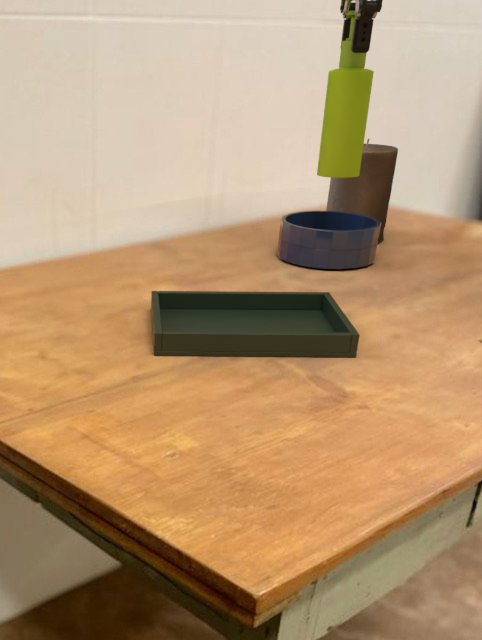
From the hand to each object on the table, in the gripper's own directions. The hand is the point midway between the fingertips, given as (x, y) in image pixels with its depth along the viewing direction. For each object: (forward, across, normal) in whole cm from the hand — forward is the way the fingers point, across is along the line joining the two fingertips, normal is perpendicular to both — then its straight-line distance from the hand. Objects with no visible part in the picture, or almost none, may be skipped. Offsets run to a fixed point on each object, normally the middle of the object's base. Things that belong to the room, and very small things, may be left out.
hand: (354, 51), depth 108 cm
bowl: (+27, 0, 0) cm, 27 cm away
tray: (+27, -34, +16) cm, 46 cm away
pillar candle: (+27, +13, -7) cm, 31 cm away
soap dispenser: (+16, 0, 0) cm, 16 cm away
